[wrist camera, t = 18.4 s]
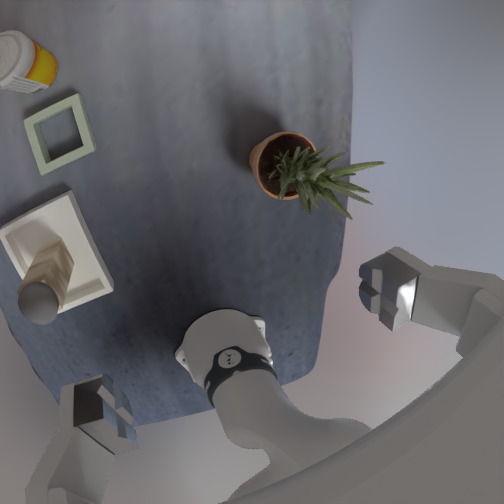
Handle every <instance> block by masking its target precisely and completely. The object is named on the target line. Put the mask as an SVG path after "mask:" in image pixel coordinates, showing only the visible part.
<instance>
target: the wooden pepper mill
mask: <svg viewBox="0 0 504 504" xmlns="http://www.w3.org/2000/svg"><path fill="white" fill-rule="evenodd" d="M73 267H74V261H73V259H72V257H71V255H70V253H69V251H68V249H67V247H66V245H65V243H64V241H63V239H62V238H61V239H59V240H57V241H55V242H53V243H51V244H49V245H47V246H45V247H43V248H41V249H39V250H38V252H37V254H36V256H35V258H34V260H33V261H32V263H31V265H30V267H29V269H28V271H27V273H26V275H25V277H24V279H23V281H22V283H21V285H20V287H19V289H18V291H17V293H18V294H19V298H18V305H19V309H20V311H21V313H22V314H23V315H24V316H25V318H27V319H28V320H29V321H31V322H33V323H35V324H39V325H45V324H49V323H51V322H52V321H53V320H54V319H55V318H56V316H57V313H58V311H59V310H62V309H63V305H64V301H65V297H66V293H67V289H68V285H69V281H70V277H71V274H72V270H73Z"/></svg>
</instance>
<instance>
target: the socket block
mask: <svg viewBox="0 0 504 504" xmlns="http://www.w3.org/2000/svg"><path fill="white" fill-rule="evenodd" d="M70 108H72V109H73V113H74V116H75V119H76V123H77V126H78V129H79V132H80V136H81V139H82V142H83V145H84V146H82V147H79V148H77V149H75V150H73V151H71V152H68V153H66V154H64V155H62V156H60V157H58V158H56V159H54V160H52V161H51V159H50V156H49V153H48V150H47V147H46V144H45V141H44V137H43V134H42V131H41V128H40V123H42V122H43V121H45V120H47V119H49V118H51V117H53V116H55V115H57V114H59V113H62V112H64V111H66V110H68V109H70ZM23 122H24V125H25V129H26V132H27V135H28V139H29V142H30V145H31V148H32V151H33V154H34V157H35V160H36V163H37V165H38V168H39V171H40V174H41V176H43V175H45V174H47V173H49V172H51V171H53V170H55V169H57V168H59V167H61V166H63V165H65V164H67V163H69V162H71V161H74V160H76V159H78V158H80V157H82V156H85V155H87V154H89V153H91V152H94V151H95V150H97V149H98V148H97V145H96V142H95V139H94V136H93V133H92V129H91V126H90V123H89V120H88V116H87V113H86V109H85V106H84V102H83V99H82V95H81V94H78V93H77V94H75V95H73V96H70V97H68V98H66V99H64V100H62V101H60V102H58V103H55V104H53V105H51V106H49V107H47V108H45V109H44V110H42V111H40V112H38V113H36V114H34V115H32V116H30V117H29V118H27V119H25V120H23Z"/></svg>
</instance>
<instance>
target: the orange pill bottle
mask: <svg viewBox="0 0 504 504" xmlns="http://www.w3.org/2000/svg"><path fill="white" fill-rule="evenodd" d="M57 71H58V63H57V60H56V58H55V57H54V56H53V55H52V54H51V53H49V52H48V51H47V50H45V49H44V48H43V47H41V46H40V45H38V44H37V43H36V42H34V41H33V40H31V39H30V38H29V37H27V36H26V35H24V34H23V33H22V32H20V31H17V30H9V31H5V32H2V33H0V89H1V90H8V91H15V92H22V93H28V94H37V93H40V92H43V91H44V90H46V89H47V88H48V87H49V86H50V85H51V84H52V83H53V81H54V79H55V77H56V75H57Z"/></svg>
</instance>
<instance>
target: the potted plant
mask: <svg viewBox="0 0 504 504" xmlns="http://www.w3.org/2000/svg"><path fill="white" fill-rule="evenodd" d="M328 147H329V146H326V147H324V148H321V149H319V150H317V151H316V149H315V147H314V145H313V144H312V143H311V142H310V141H309V140H308V139H307V138H306V137H305V136H303V135H301V134H299V133H296V132H279V133H275V134H273V135H271V136H269V137H268V138H266V139H265V140H264V141H263V142H260V143H259V144H257V145H256V146H255V147H254V148H253V150H252V151H251V154H250V158H249V164H250V166H251V168H252V170H253V176H254V178H255V180H256V182H257V184H258V185H259V188H260V189H261V190H262V191H264V192H265V193H267V194H268V195H269V196H271V197H273V198H276V199H277V201H278V200H279V199H282V200H290V199H294V198H297V197H299V198H300V203H301V205H302V208H303V210H304V211H305V208H306V211H307V213H308V215H310V216H311V202H312V204H313V205H314V206H315V207H316V208H317V209H318V208H319V205H318V202H317V195H318V196H320V197H321V198H322V199H323V200H325V201H326V202H327V203H329V204H330V205H331V206H333V207H334V208H336V209H337V210H338V211H340V212H341V213H342V214H343V215H344V216H346V217H347V218H349V219H351V220H352V217H351V216H350V214H349V213H348V212H347V211H346V209H345V208H344V207H343V205H342V204H341V203H340V202H339V200H338V199H337V198H336V196H335V195H334V194H333V192H332V191H331V190H330V189H332V190H335V191H337V192H339V193H341V194H344V195H346V196H349V197H351V198H353V199H356V200H358V201H361V202H364V203H368V204H372V203H370V202H369V201H368V200H365V199H364V198H362V197H360V196H358V195H356V194H354V193H352V192H350V191H357V192H363V193H370V192H369V191H367V190H365V189H363V188H361V187H359V186H357V185H354V184H352V183H349V182H346V181H343V180H340V179H337V178H338V177H344V176H353V175H356V174H355V173H352V172H356V171H360V170H364V169H367V168H371V167H374V166H378V165H383V164H386V163H385V162H382V161H381V162H380V161H378V162H366V163H358V164H353V165H347V166H343V167H338V168H334V169H330V170H327V168H328V167H329V165H330V164H331V163H332V162H333V161H334V160H336V159H337V158H339V157H340V156H342V155H343V154H344V152H342V153H338V154H335V155H332V156H330V157H328V158H325V159H323V160H321V159H322V157H319V158H318V155H319V154H320V153H321V152H323V151H324V150H326V149H327V148H328ZM320 160H321V161H320ZM349 190H350V191H349ZM372 205H373V204H372Z"/></svg>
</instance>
